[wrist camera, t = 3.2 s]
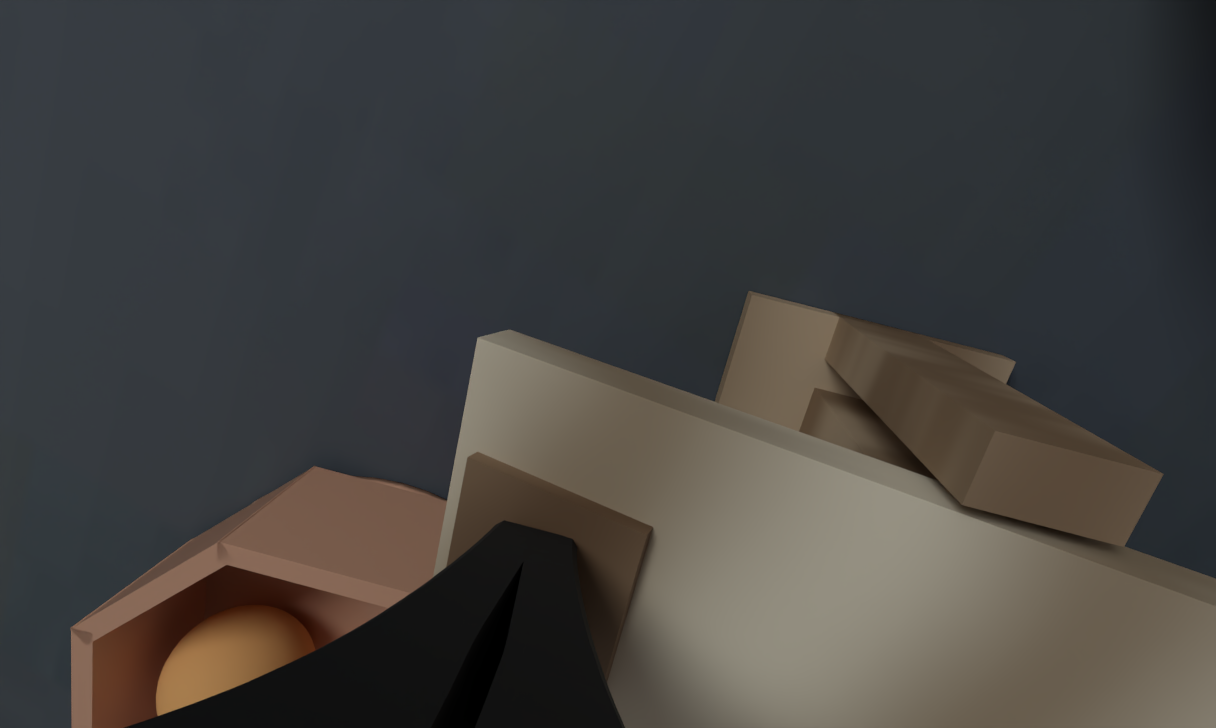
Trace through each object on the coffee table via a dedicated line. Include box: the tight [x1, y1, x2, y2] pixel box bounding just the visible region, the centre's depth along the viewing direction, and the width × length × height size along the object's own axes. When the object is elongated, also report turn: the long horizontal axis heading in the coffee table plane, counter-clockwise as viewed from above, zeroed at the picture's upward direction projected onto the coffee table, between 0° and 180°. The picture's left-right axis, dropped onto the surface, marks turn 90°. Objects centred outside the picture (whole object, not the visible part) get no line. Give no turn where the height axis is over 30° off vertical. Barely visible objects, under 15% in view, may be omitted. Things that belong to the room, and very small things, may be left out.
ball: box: [156, 605, 315, 716], centre depth 16 cm, size 4×4×4 cm
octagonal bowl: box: [71, 466, 447, 728], centre depth 16 cm, size 11×11×4 cm
